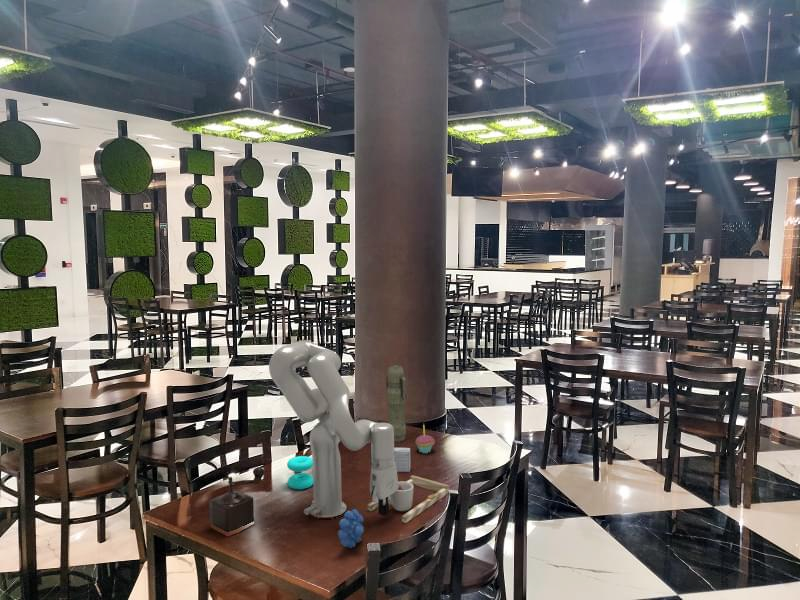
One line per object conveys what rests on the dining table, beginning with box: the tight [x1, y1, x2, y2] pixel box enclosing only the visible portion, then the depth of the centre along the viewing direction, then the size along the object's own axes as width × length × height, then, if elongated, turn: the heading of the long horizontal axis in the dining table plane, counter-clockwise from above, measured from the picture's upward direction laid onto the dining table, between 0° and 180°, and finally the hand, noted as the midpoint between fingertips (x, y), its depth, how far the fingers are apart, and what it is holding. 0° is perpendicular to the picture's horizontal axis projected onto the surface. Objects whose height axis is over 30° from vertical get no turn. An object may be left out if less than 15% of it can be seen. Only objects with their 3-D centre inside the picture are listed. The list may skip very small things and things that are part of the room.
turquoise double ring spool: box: [286, 455, 313, 490], centre depth 216 cm, size 10×10×10 cm
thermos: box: [385, 364, 407, 443], centre depth 265 cm, size 9×12×35 cm
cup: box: [389, 481, 415, 512], centre depth 196 cm, size 11×8×8 cm
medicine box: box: [394, 447, 411, 473], centre depth 229 cm, size 8×4×9 cm, turn 84°
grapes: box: [337, 509, 365, 549], centre depth 170 cm, size 12×7×12 cm, turn 149°
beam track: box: [367, 475, 450, 524], centre depth 202 cm, size 28×20×6 cm
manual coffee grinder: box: [208, 466, 266, 532], centre depth 186 cm, size 16×11×18 cm
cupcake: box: [415, 423, 436, 454], centre depth 250 cm, size 9×8×12 cm
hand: (383, 514), depth 189 cm, fingers closed
